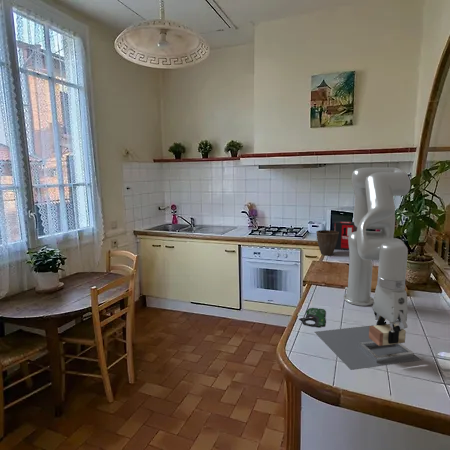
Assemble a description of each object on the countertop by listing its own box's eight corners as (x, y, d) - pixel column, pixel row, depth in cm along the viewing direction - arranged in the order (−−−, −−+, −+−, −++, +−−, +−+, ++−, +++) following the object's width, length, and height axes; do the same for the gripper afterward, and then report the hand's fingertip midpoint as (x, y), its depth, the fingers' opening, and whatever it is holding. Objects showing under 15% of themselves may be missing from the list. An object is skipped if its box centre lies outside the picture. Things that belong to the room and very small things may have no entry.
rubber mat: (314, 332, 116) (314, 331, 116) (373, 326, 120) (373, 325, 120) (350, 371, 93) (350, 369, 93) (421, 361, 98) (422, 359, 98)
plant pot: (312, 252, 232) (313, 230, 229) (332, 251, 233) (333, 229, 231) (320, 257, 217) (321, 234, 214) (341, 256, 218) (342, 233, 216)
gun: (301, 306, 136) (326, 309, 133) (301, 309, 136) (326, 312, 133) (298, 323, 121) (325, 326, 118) (297, 326, 121) (325, 330, 118)
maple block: (393, 334, 105) (394, 323, 104) (404, 342, 100) (405, 330, 99) (368, 337, 103) (369, 326, 102) (379, 345, 98) (379, 333, 97)
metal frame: (358, 347, 105) (358, 342, 105) (393, 342, 108) (393, 338, 107) (376, 362, 97) (376, 358, 96) (413, 357, 99) (414, 353, 99)
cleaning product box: (356, 248, 242) (358, 222, 239) (357, 250, 234) (359, 223, 231) (333, 246, 247) (335, 221, 244) (334, 249, 239) (335, 223, 235)
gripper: (423, 291, 91) (418, 351, 94) (383, 273, 107) (379, 324, 110) (400, 293, 89) (395, 354, 92) (363, 275, 106) (359, 327, 109)
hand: (386, 337), depth 101 cm, fingers closed on maple block, 5 cm apart
